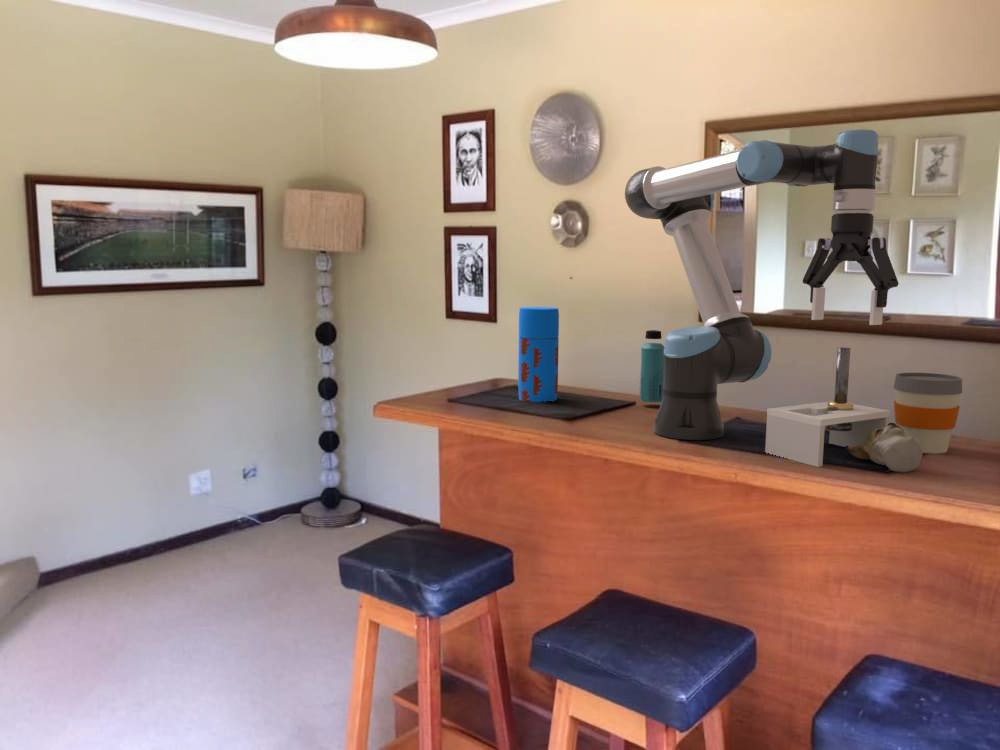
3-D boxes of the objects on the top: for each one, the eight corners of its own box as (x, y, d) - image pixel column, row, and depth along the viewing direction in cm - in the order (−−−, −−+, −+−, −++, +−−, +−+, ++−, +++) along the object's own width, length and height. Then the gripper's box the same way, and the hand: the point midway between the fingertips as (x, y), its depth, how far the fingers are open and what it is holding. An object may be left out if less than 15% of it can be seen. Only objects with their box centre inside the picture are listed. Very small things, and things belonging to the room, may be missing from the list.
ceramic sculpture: (885, 428, 149) (843, 417, 164) (883, 475, 150) (841, 460, 164) (941, 427, 150) (894, 417, 165) (939, 475, 151) (892, 460, 165)
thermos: (541, 394, 237) (542, 306, 233) (565, 400, 228) (567, 308, 225) (510, 398, 231) (511, 307, 227) (533, 403, 222) (534, 309, 218)
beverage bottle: (660, 409, 215) (663, 331, 212) (635, 406, 218) (638, 330, 215) (667, 405, 221) (669, 329, 218) (642, 403, 224) (645, 328, 221)
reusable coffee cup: (882, 440, 179) (887, 371, 177) (944, 443, 177) (950, 373, 175) (899, 454, 167) (904, 380, 165) (967, 456, 165) (973, 381, 163)
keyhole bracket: (817, 467, 156) (820, 419, 155) (765, 452, 167) (767, 408, 166) (887, 455, 166) (890, 410, 165) (832, 442, 177) (835, 400, 176)
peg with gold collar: (820, 427, 169) (825, 347, 166) (837, 425, 171) (842, 346, 169) (840, 432, 164) (846, 349, 162) (857, 429, 167) (862, 348, 164)
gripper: (788, 214, 171) (782, 318, 174) (898, 209, 149) (889, 327, 152) (813, 215, 174) (807, 317, 177) (924, 210, 153) (915, 326, 156)
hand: (845, 322), depth 165 cm, fingers open, 13 cm apart
